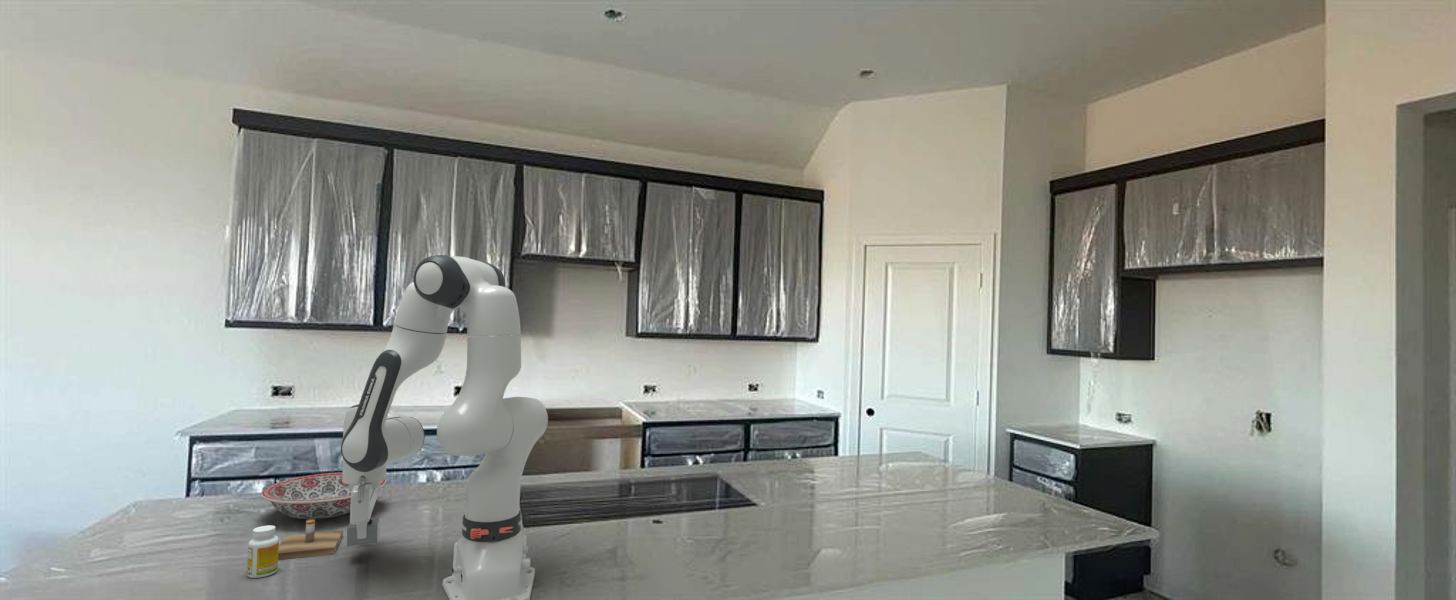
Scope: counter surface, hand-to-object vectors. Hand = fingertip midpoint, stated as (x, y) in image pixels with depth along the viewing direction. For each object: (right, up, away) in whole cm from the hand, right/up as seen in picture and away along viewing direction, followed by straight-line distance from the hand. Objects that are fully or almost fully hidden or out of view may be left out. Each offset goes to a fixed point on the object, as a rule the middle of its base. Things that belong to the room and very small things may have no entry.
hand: (363, 532), depth 147 cm
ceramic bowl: (-27, -6, +29) cm, 40 cm away
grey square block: (0, -2, 0) cm, 2 cm away
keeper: (-16, -6, +5) cm, 18 cm away
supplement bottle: (-17, -6, -9) cm, 20 cm away
